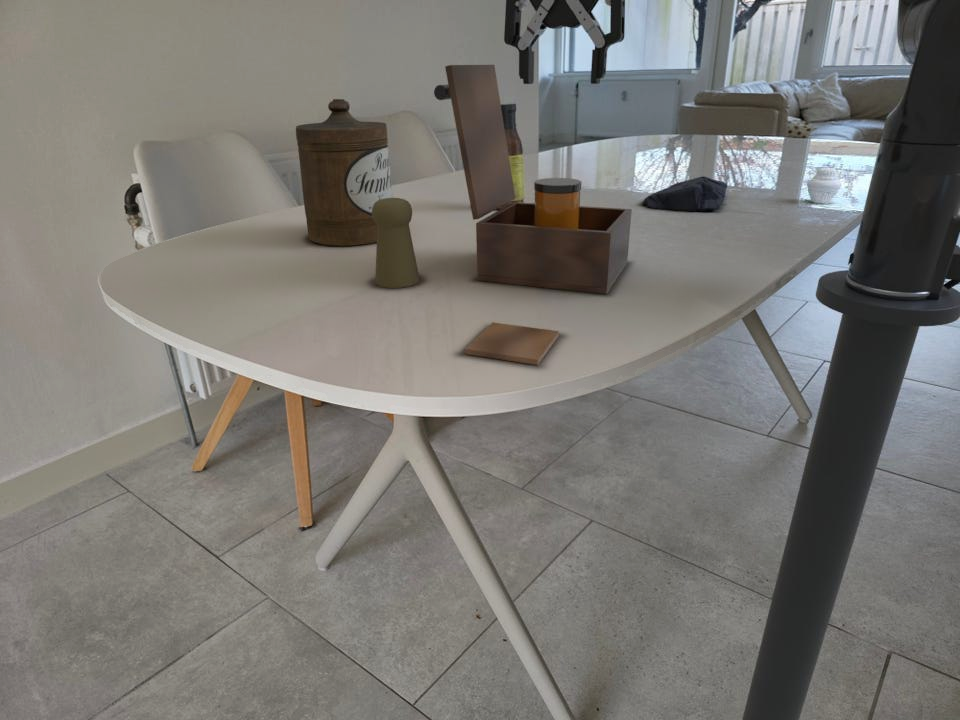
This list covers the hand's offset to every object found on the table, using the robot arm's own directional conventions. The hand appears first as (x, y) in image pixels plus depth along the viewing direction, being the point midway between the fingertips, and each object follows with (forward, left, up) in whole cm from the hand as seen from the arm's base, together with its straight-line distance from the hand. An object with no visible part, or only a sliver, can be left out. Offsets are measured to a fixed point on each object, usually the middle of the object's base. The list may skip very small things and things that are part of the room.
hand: (561, 83), depth 77 cm
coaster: (-3, +26, -24) cm, 36 cm away
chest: (0, 0, -24) cm, 24 cm away
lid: (+10, 0, -7) cm, 12 cm away
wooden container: (+39, -9, -24) cm, 47 cm away
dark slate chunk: (-13, -57, -24) cm, 63 cm away
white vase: (-38, -63, -24) cm, 77 cm away
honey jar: (0, 0, -23) cm, 23 cm away
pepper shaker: (+19, +11, -24) cm, 33 cm away
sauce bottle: (+21, -39, -24) cm, 51 cm away
